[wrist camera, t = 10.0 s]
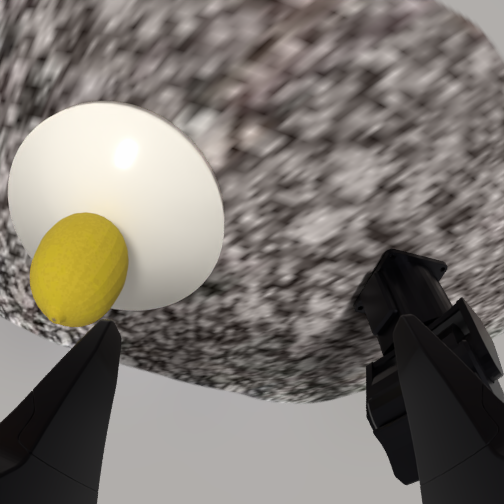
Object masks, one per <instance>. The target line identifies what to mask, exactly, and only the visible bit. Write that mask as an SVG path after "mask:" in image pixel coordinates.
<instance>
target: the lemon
mask: <svg viewBox="0 0 504 504" xmlns="http://www.w3.org/2000/svg"><path fill="white" fill-rule="evenodd" d="M128 265H129V259H128V250H127V246H126V243H125V240H124V237H123V235H122V234H121V232H120V231H119V229H118V228H117V227H116V226H115V225H114V224H113V223H112V222H111V221H109V220H108V219H106V218H105V217H103V216H100V215H98V214H94V213H88V212H84V213H75V214H72V215H70V216H67V217H65V218H63V219H61V220H60V221H58V222H57V223H56V224H55V225H54V226H53V227H52V228H51V229H50V230H49V231H48V232H47V233H46V234H45V235H44V237H43V238H42V240H41V242H40V244H39V246H38V248H37V250H36V252H35V255H34V257H33V260H32V264H31V269H30V287H31V290H32V294H33V297H34V299H35V301H36V303H37V305H38V307H39V308H40V310H41V311H42V312H43V313H44V314H45V315H46V316H47V317H48V318H49V320H50V321H51V322H53V323H56V324H60V325H63V326H69V327H82V326H85V325H89V324H92V323H94V322H96V321H97V320H98V319H100V318H101V317H102V316H104V315H105V314H106V313H107V312H108V311H109V310H110V308H111V307H112V306H113V304H114V303H115V301H116V299H117V298H118V296H119V294H120V293H121V291H122V289H123V287H124V284H125V280H126V276H127V271H128Z"/></svg>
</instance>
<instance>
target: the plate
mask: <svg viewBox="0 0 504 504" xmlns="http://www.w3.org/2000/svg"><path fill="white" fill-rule="evenodd" d="M8 201H9V209H10V214H11V218H12V222H13V225H14V228H15V230H16V233H17V235H18V237H19V239H20V241H21V243H22V245H23V247H24V248H25V250H26V251H27V253H28V255H29V256H30V257H31V259H32V260H33V257H34V255H35V252H36V250H37V248H38V246H39V244H40V242H41V240H42V238H43V237H44V235H45V234H46V233H47V232H48V231H49V230H50V229H51V228H52V227H53V226H54V225H55V224H56V223H57V222H58V221H60V220H61V219H63V218H65V217H67V216H70V215H72V214H75V213H84V212H88V213H94V214H98V215H100V216H103V217H105V218H106V219H108V220H109V221H111V222H112V223H113V224H114V225H115V226H116V227H117V228H118V229H119V231H120V232H121V234H122V235H123V237H124V240H125V243H126V246H127V250H128V259H129V265H128V271H127V276H126V280H125V284H124V287H123V289H122V291H121V293H120V294H119V296H118V298H117V299H116V301H115V303H114V304H113V306H112V307H111V308H112V309H118V310H128V311H143V310H151V309H157V308H161V307H165V306H168V305H171V304H173V303H176V302H178V301H180V300H182V299H184V298H185V297H187V296H189V295H190V294H191V293H193V292H194V291H195V290H197V289H198V288H199V287H200V286H201V285H202V284H203V283H204V282H205V280H206V279H207V278H208V277H209V275H210V274H211V273H212V271H213V269H214V267H215V265H216V263H217V261H218V258H219V255H220V252H221V249H222V243H223V237H224V226H225V210H224V203H223V197H222V193H221V190H220V186H219V183H218V180H217V178H216V176H215V174H214V172H213V169H212V167H211V166H210V164H209V162H208V161H207V159H206V158H205V156H204V154H203V153H202V152H201V150H200V149H199V148H198V147H197V146H196V144H195V143H194V142H193V141H192V140H191V139H190V138H189V137H188V136H187V135H186V134H185V133H184V132H183V131H182V130H180V129H179V128H178V127H177V126H175V125H174V124H172V123H171V122H170V121H168V120H167V119H165V118H164V117H162V116H160V115H158V114H156V113H154V112H152V111H150V110H148V109H145V108H142V107H139V106H136V105H133V104H129V103H124V102H118V101H92V102H85V103H81V104H78V105H74V106H71V107H69V108H67V109H65V110H62V111H60V112H58V113H57V114H55V115H53V116H51V117H49V118H48V119H46V120H45V121H43V122H42V123H41V124H39V125H38V126H37V127H36V128H35V129H34V130H33V131H32V132H31V133H30V134H29V135H28V136H27V137H26V139H25V140H24V142H23V143H22V144H21V146H20V147H19V149H18V152H17V154H16V156H15V158H14V160H13V164H12V167H11V170H10V175H9V182H8Z"/></svg>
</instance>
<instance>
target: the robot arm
mask: <svg viewBox="0 0 504 504" xmlns="http://www.w3.org/2000/svg"><path fill="white" fill-rule="evenodd" d="M391 255H393V256H391ZM390 256H391V257H390ZM446 270H447V265H446V263H445V262H443V261H439V260H435V259H431V258H427V257H423V256H419V255H416V254H412V253H408V252H404V251H400V250H396V249H390V250H388V251H387V252H386V253H385V255H384V256H383V258H382V260H381V262H380V263H379V265H378V267H377V268H376V270H375V272H374V273H373V275H372V276H371V278H370V279H369V281H368V283H367V284H366V286H365V288H364V289H363V291H362V292H361V294H360V296H359V297H358V299H357V300H356V302H355V304H354V309H355V311H356V312H360V313H366V316H367V318H368V321H369V324H370V327H371V331H372V333H373V335H375V336H377V338H378V341H379V344H380V347H381V350H382V353H383V357H381V358H380V359H378V360H377V361H375V362H372V363H370V364H368V365H367V366H366V409H367V410H366V411H367V419H368V421H369V423H370V425H371V427H372V429H373V433H374V435H375V436H376V438H377V439H378V440H379V442H380V443H381V444H382V446H383V448H384V449H385V451H386V453H387V456H388V458H389V461H390V463H391V466H392V469H393V472H394V475H395V477H396V478H398V479H399V480H400V481H401V482H402V483H403V484H405V485H409V484H412V483H414V482H417V481H419V480H420V485H421V486H420V488H421V495H422V503H423V504H504V393H503V390H502V388H501V386H500V384H499V382H498V379H499V378H500V377H502V376H503V370H502V367H501V364H500V361H499V358H498V355H497V352H496V349H495V346H494V343H493V341H492V339H491V337H490V335H489V334H488V332H487V330H486V328H485V326H484V325H483V323H482V321H481V320H480V318H479V317H478V316H477V315H476V313H475V312H474V311H473V310H472V308H471V307H470V306H469V305H468V304H467V302H466V301H465V300H464V299H463V298H462V297H461V298H460V299H459V300H458V301H456V304H455V305H453V306H452V304H451V302H450V300H449V299H448V297H447V295H446V293H445V291H444V290H443V288H442V286H441V285H440V283H439V280H440V279H441V278H442V276H443V275H444V273H445V272H446ZM120 350H121V335H120V333H119V331H118V329H117V327H116V325H115V323H114V321H113V320H108V319H102V320H100V321H99V322H98V323H97V324H96V325H95V326H94V327H93V328H92V329H91V330H90V331H89V332H88V333H87V334H86V335H85V336H84V337H83V338H82V339H81V340H80V341H79V342H78V343H77V344H76V345H75V346H74V347H73V348H72V349H71V350H70V351H69V352H68V353H67V354H66V355H65V356H64V357H63V358H62V359H61V360H60V362H58V364H56V365H55V367H54V368H53V369H52V370H51V371H50V372H49V373H48V374H47V375H46V376H45V377H44V378H43V380H41V381H40V383H39V384H38V385H37V386H36V387H35V388H34V389H33V391H31V392H30V393H29V394H28V396H27V397H26V398H25V399H24V400H23V401H22V402H21V403H20V404H19V405H18V406H17V407H16V408H15V409H14V410H13V411H12V412H11V413H10V414H9V415H8V416H7V417H6V418H5V419H4V420H3V421H2V422H0V504H97V498H98V489H99V481H100V473H101V466H102V459H103V453H104V447H105V441H106V435H107V429H108V424H109V419H110V414H111V409H112V403H113V399H114V394H115V389H116V384H117V376H118V367H119V358H120Z"/></svg>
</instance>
